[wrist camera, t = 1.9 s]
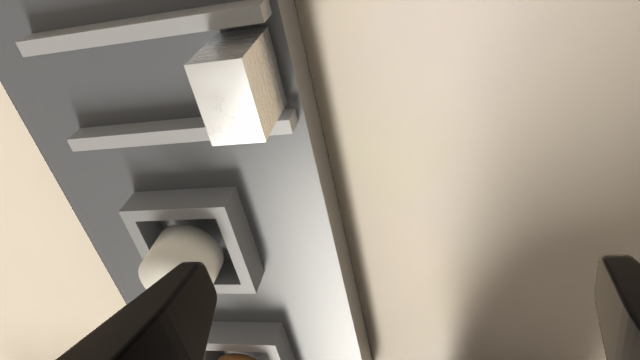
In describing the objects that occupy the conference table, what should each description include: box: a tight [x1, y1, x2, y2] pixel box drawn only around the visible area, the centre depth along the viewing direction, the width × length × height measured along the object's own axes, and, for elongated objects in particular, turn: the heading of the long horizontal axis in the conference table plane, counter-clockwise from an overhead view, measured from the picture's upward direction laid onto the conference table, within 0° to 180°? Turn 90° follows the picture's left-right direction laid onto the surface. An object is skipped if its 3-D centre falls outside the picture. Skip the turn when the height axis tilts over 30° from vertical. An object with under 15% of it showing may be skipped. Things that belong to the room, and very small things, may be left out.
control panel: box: [0, 0, 372, 360], centre depth 26 cm, size 13×24×4 cm, turn 11°
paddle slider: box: [184, 26, 287, 146], centre depth 18 cm, size 2×3×3 cm, turn 11°
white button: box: [138, 224, 224, 289], centre depth 23 cm, size 3×3×2 cm
